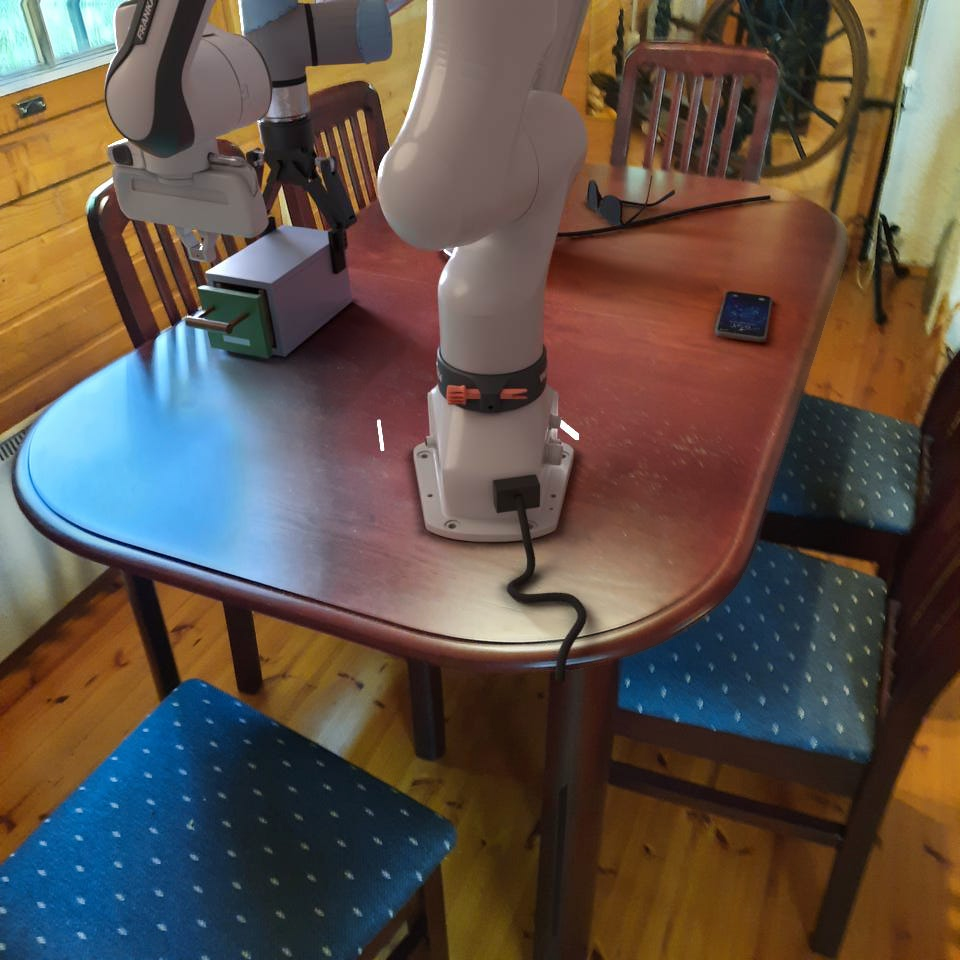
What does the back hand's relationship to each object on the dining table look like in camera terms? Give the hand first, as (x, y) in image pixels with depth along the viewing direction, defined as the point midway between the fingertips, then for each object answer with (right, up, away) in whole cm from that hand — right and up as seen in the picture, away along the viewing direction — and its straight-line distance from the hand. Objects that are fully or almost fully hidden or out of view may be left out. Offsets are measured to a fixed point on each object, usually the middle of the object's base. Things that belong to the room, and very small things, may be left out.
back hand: (306, 265), depth 132 cm
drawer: (-5, -12, -6) cm, 14 cm away
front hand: (-9, -5, -22) cm, 24 cm away
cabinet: (-2, -9, -1) cm, 9 cm away
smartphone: (+66, -9, -4) cm, 67 cm away
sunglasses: (+56, +19, +34) cm, 68 cm away
